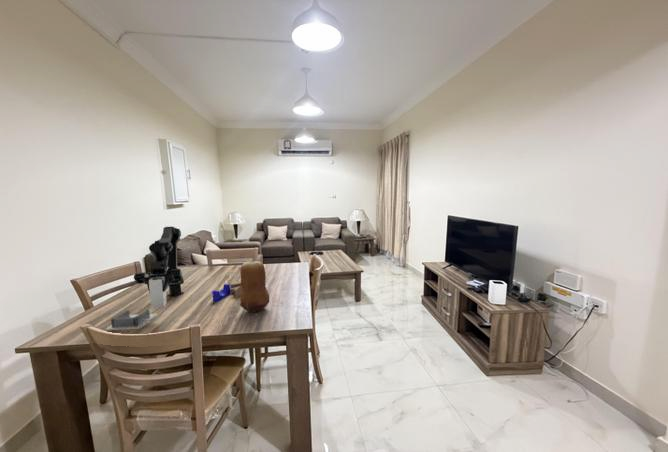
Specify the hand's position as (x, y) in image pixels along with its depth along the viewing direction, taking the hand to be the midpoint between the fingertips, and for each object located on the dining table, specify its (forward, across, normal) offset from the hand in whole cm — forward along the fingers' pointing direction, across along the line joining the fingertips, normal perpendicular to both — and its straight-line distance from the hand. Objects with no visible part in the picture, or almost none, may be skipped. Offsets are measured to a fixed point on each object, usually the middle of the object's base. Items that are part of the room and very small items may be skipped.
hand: (157, 292), depth 121 cm
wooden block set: (-7, +40, +27) cm, 49 cm away
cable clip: (-4, +25, +24) cm, 35 cm away
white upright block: (+4, 0, +6) cm, 7 cm away
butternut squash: (+15, +42, +5) cm, 45 cm away
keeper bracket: (+8, -11, +11) cm, 18 cm away
